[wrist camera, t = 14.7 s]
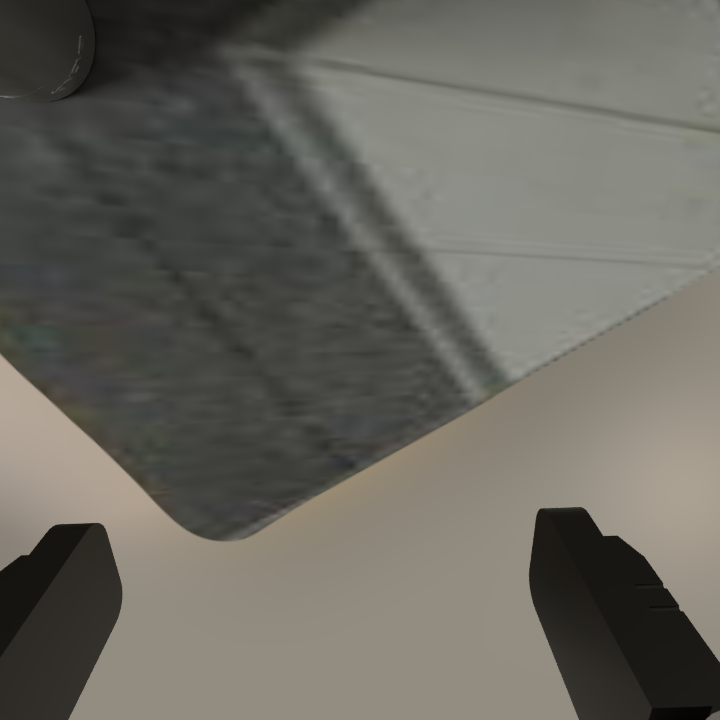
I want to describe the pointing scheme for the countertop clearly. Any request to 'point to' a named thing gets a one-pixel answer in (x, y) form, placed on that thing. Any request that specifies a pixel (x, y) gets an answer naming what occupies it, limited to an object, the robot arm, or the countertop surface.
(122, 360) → the countertop surface
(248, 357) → the countertop surface
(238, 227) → the countertop surface
